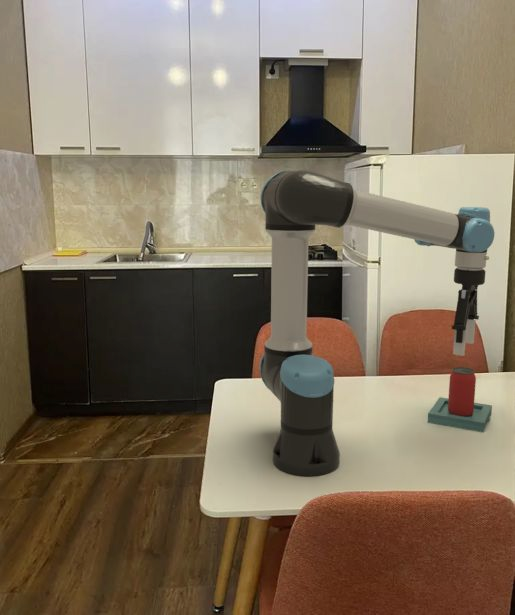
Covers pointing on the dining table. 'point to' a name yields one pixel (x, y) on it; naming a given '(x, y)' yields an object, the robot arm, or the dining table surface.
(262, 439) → the dining table surface
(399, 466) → the dining table surface
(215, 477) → the dining table surface
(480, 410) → the coaster
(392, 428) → the dining table surface
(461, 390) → the beer can
